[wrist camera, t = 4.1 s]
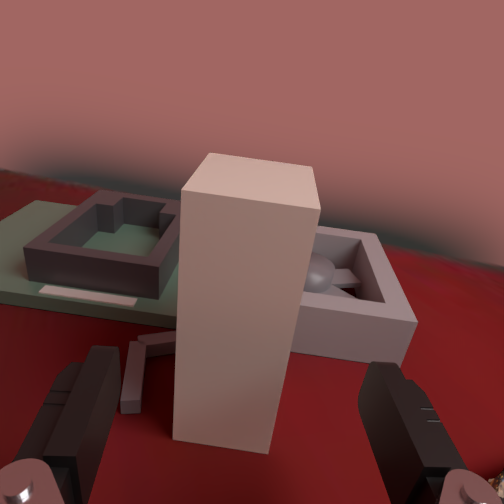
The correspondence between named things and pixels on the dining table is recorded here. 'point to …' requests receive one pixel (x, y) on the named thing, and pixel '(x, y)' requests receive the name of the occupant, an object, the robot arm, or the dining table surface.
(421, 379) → the dining table surface
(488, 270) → the dining table surface
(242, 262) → the plug
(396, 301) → the fan
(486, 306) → the dining table surface
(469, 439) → the dining table surface
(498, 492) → the burger
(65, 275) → the header board
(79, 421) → the robot arm
